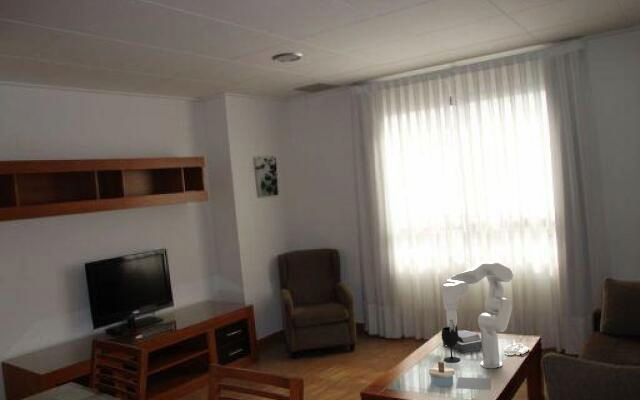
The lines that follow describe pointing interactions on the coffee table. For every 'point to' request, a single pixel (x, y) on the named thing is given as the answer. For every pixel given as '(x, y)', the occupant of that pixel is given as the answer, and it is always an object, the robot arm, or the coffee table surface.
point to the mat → (474, 383)
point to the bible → (467, 342)
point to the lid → (441, 371)
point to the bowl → (442, 381)
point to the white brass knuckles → (516, 348)
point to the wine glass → (449, 344)
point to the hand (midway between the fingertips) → (454, 335)
